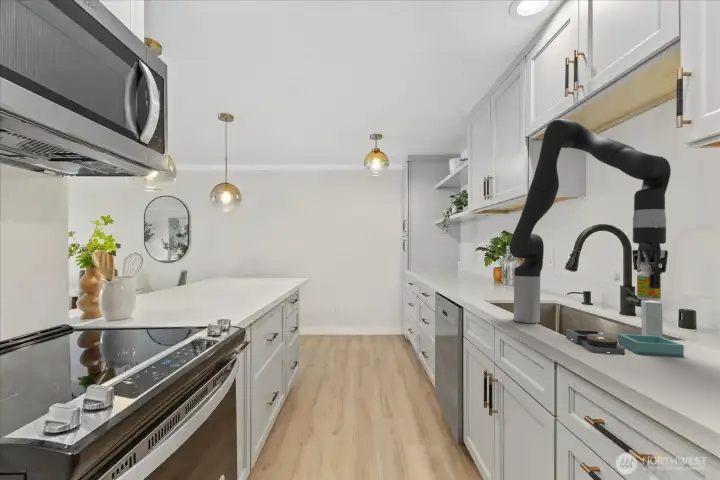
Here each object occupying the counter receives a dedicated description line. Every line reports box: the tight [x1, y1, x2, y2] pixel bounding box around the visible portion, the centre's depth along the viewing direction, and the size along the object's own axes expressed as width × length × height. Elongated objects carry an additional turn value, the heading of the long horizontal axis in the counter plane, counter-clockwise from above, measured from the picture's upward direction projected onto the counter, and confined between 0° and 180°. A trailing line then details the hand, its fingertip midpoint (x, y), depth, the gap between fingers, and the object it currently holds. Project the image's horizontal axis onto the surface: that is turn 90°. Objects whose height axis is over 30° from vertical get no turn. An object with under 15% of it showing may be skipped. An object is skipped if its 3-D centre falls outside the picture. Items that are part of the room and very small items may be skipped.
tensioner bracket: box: [565, 328, 626, 355], centre depth 115 cm, size 18×9×4 cm, turn 170°
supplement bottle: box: [636, 264, 662, 302], centre depth 111 cm, size 5×5×10 cm
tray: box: [617, 333, 685, 358], centre depth 110 cm, size 11×11×3 cm
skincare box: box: [640, 300, 664, 337], centre depth 122 cm, size 6×4×12 cm
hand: (648, 286), depth 111 cm, fingers closed on supplement bottle, 5 cm apart
